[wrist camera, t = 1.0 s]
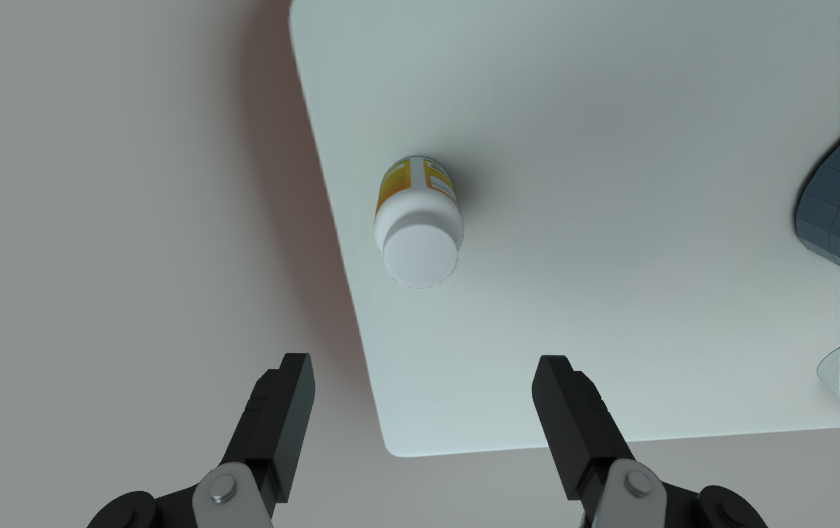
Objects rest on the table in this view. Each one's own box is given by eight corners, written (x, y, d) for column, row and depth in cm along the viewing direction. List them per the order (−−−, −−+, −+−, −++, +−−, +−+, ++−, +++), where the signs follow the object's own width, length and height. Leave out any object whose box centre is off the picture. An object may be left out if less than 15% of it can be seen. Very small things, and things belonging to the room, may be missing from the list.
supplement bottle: (381, 223, 28) (371, 300, 20) (378, 154, 25) (365, 211, 17) (449, 223, 28) (467, 299, 20) (454, 155, 25) (477, 211, 17)
